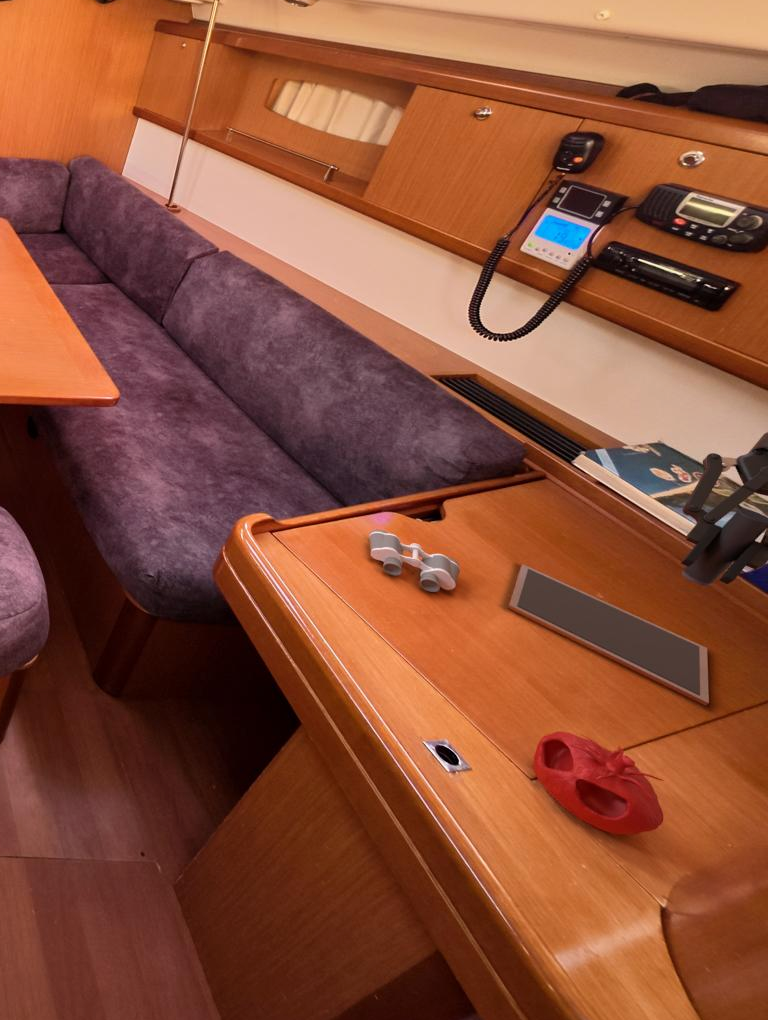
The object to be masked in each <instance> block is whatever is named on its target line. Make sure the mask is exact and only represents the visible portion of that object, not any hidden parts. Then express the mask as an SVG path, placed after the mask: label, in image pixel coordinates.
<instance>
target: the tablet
mask: <svg viewBox="0 0 768 1020" xmlns="http://www.w3.org/2000/svg"><path fill="white" fill-rule="evenodd" d="M516 575H517V576H516V580H515V582H514V586H513V588H512V592H511V595H510V598H509V601H508V604H507V609H509V610H511V611H512V612H515V613H517V614H519V615H521V616H523V617H525V618H526V619H528V620H530V621H533V622H535V623H538V624H539V625H541V626H543V627H545V628H547V629H549V630H551V631H554V632H555V633H556V634H557V633H558V634H559V635H561V636H563V637H565V638H568V639H570V640H572V641H573V642H576V643H578V644H580V645H582V646H583V647H586V648H588V649H590V650H591V651H593V652H596V653H598V654H600V655H602V656H604V657H606V658H608V659H609V660H612V661H614V662H616V663H617V664H620V665H622V666H623V667H626V668H628V669H630V670H632V671H633V672H636V673H638V674H640V675H642V676H644V677H646V678H648V679H650V680H652V681H654V682H656V683H658V684H660V685H663V686H664V687H667V688H668V689H671V690H673V691H675V692H676V693H678V694H680V695H682V696H685V697H687V698H688V699H691V700H693V701H695V702H697V703H699V704H701V705H703V706H705V707H707V706H708V705H709V704H710V697H709V696H710V695H709V666H708V665H709V663H708V662H709V661H708V659H709V658H708V647H706V646H704V645H701V644H699V643H697V642H695V641H694V640H693V641H692V640H690V639H689V638H686V637H684V636H682V635H679V634H677V633H676V632H673V631H671V630H668V629H666V628H664V627H662V626H660V625H658V624H656V623H653V622H652V621H649V620H647V619H644V618H643V617H640V616H637V615H635V614H633V613H631V612H629V611H627V610H624V609H623V608H620V607H619V606H615V605H613V604H612V603H609V602H607V601H605V600H603V599H600V598H598V597H596V596H595V595H594V596H593V595H591V594H589V593H587V592H585V591H583V590H581V589H578V588H576V587H574V586H572V585H570V584H567V583H565V582H563V581H561V580H558V579H556V578H554V577H552V576H550V575H548V574H545V573H543V572H541V571H539V570H536V569H534V568H532V567H530V566H528V565H526V564H523V563H522V564H520V566H519V569H518V573H517V574H516Z"/></svg>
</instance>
